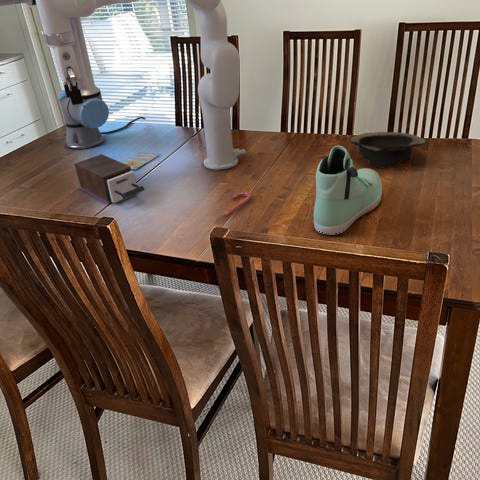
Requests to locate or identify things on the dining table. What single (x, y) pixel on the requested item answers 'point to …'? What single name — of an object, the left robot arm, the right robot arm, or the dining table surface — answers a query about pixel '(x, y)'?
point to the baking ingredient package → (139, 160)
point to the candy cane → (237, 206)
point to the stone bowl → (386, 147)
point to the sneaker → (343, 192)
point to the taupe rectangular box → (98, 175)
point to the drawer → (122, 186)
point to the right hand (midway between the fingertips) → (74, 100)
